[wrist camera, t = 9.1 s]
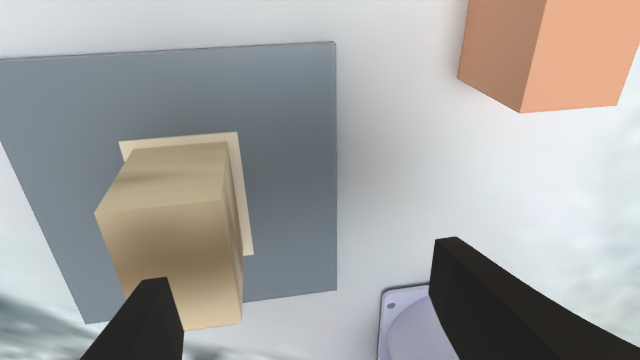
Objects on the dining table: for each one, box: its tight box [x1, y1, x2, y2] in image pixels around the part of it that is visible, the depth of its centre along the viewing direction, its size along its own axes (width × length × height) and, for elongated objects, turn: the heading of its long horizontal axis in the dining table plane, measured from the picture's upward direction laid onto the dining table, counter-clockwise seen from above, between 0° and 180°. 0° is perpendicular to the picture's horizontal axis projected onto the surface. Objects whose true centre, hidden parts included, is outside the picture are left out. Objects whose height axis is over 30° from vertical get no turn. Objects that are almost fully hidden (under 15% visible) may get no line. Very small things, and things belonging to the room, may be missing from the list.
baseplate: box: [0, 42, 337, 324], centre depth 19 cm, size 14×14×1 cm
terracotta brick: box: [457, 0, 640, 113], centre depth 15 cm, size 6×4×5 cm, turn 1°
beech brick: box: [94, 141, 243, 331], centre depth 16 cm, size 6×4×5 cm, turn 1°
